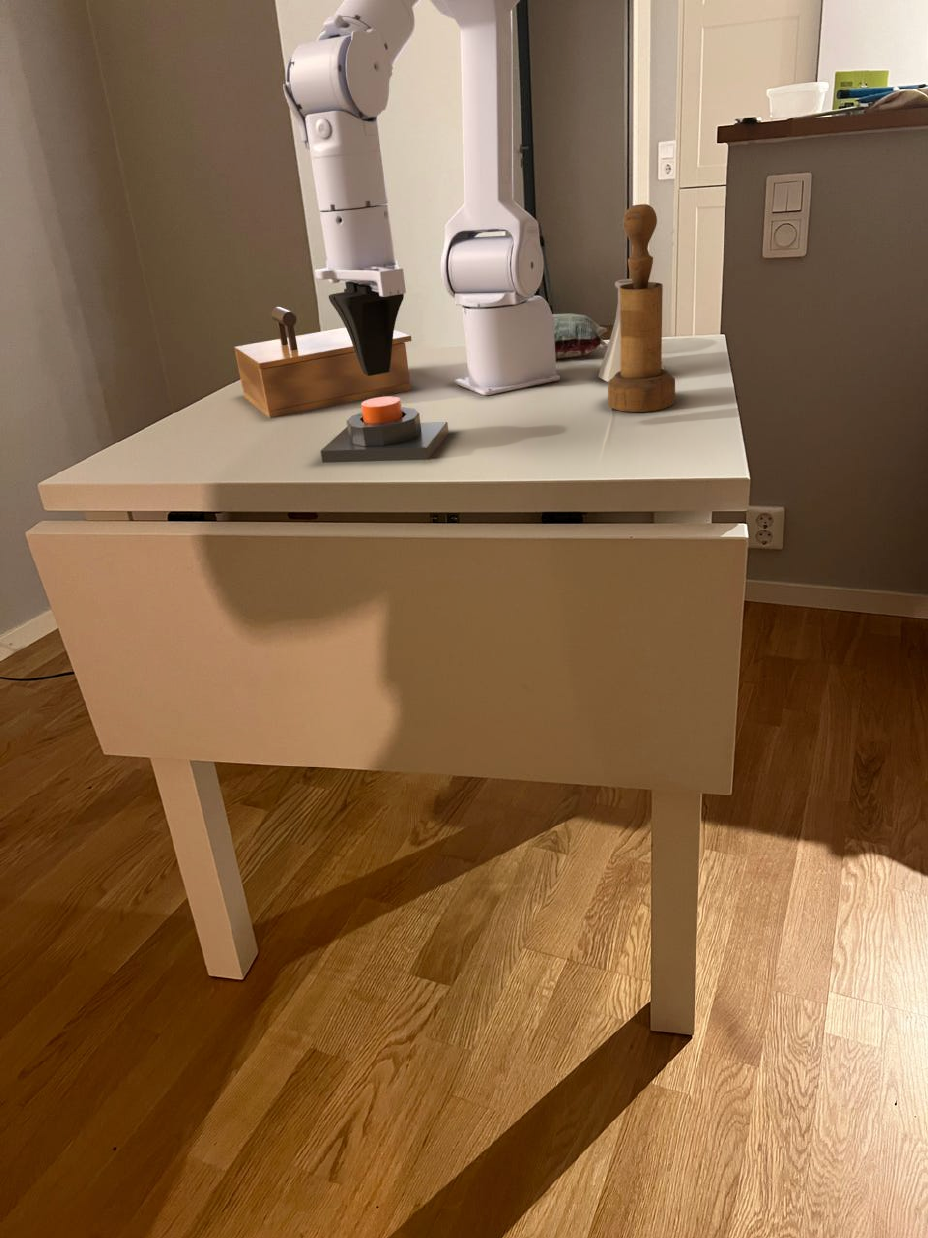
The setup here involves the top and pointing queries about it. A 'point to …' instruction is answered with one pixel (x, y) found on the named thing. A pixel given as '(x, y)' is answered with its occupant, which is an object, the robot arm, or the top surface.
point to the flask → (614, 343)
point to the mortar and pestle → (641, 326)
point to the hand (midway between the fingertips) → (376, 372)
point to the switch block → (386, 440)
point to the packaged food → (576, 335)
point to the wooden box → (319, 382)
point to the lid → (300, 343)
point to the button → (381, 409)
